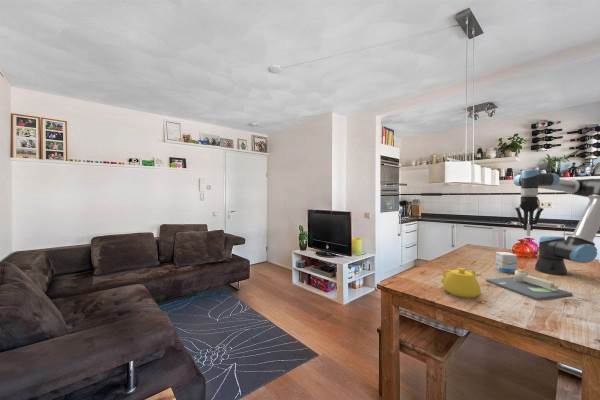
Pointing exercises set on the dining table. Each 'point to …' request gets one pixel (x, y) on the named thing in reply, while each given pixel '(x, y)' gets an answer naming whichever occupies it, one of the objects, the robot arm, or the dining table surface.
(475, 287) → the teapot
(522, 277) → the peg lever
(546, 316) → the dining table surface
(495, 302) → the dining table surface
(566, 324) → the dining table surface
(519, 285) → the board
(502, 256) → the ink box
